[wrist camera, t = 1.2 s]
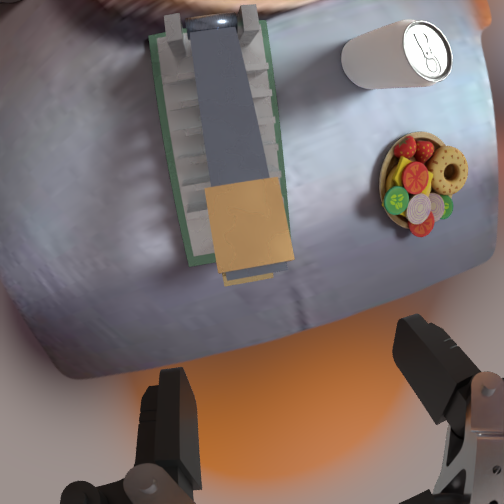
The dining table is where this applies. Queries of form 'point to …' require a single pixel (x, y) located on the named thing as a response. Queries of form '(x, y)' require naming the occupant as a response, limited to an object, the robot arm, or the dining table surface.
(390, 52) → the can
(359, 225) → the dining table surface
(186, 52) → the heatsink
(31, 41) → the dining table surface
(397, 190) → the toy food set
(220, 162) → the grey and tan bar
